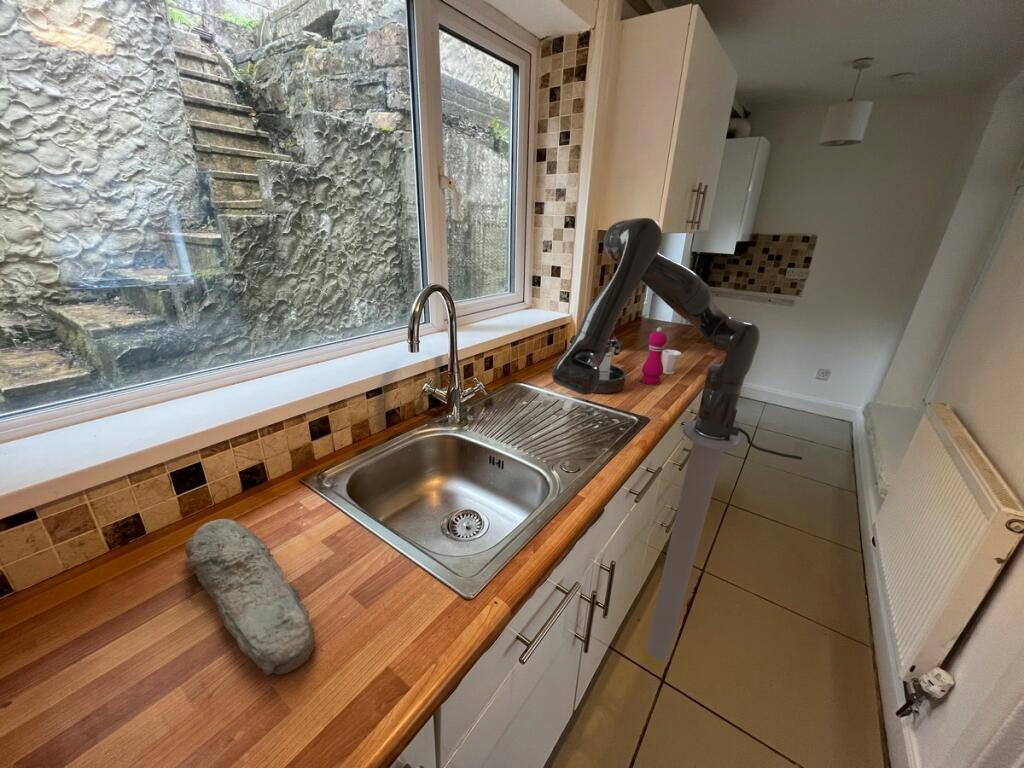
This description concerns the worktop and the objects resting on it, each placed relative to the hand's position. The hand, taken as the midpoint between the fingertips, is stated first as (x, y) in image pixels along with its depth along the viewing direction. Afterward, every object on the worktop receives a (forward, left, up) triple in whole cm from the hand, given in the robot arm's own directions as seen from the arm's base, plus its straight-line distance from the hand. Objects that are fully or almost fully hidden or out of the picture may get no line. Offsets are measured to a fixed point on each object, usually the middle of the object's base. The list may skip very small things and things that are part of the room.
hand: (599, 338), depth 120 cm
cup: (-19, -43, -21) cm, 51 cm away
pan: (+2, -16, -21) cm, 26 cm away
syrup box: (+2, -16, -20) cm, 26 cm away
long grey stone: (+28, +92, -21) cm, 99 cm away
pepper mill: (-14, -28, -21) cm, 38 cm away
